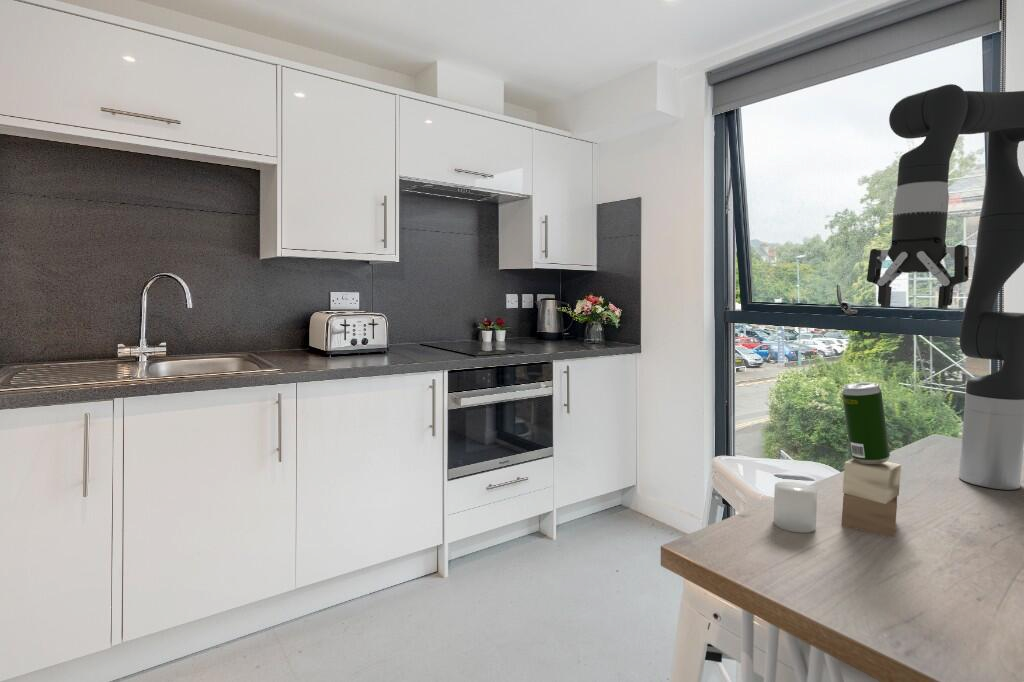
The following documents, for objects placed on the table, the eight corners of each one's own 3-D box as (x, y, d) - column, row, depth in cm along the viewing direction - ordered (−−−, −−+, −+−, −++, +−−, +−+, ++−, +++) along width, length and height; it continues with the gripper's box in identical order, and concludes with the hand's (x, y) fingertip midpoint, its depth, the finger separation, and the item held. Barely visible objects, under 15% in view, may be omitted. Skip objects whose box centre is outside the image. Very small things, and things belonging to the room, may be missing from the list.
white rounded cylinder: (779, 515, 94) (780, 479, 94) (819, 524, 91) (821, 486, 90) (768, 526, 90) (769, 488, 89) (810, 536, 86) (812, 497, 86)
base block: (844, 512, 96) (846, 483, 96) (894, 522, 92) (897, 492, 92) (841, 526, 90) (843, 495, 90) (894, 537, 86) (897, 505, 86)
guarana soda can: (879, 466, 87) (868, 389, 87) (844, 461, 92) (833, 388, 91) (897, 457, 90) (887, 382, 89) (862, 452, 94) (852, 381, 94)
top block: (857, 485, 95) (859, 455, 95) (898, 495, 90) (901, 464, 90) (842, 492, 91) (844, 462, 91) (885, 504, 87) (887, 471, 86)
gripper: (979, 210, 93) (971, 309, 95) (882, 218, 105) (876, 306, 106) (963, 205, 89) (955, 310, 90) (864, 214, 100) (858, 307, 102)
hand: (912, 308), depth 98 cm, fingers open, 8 cm apart
